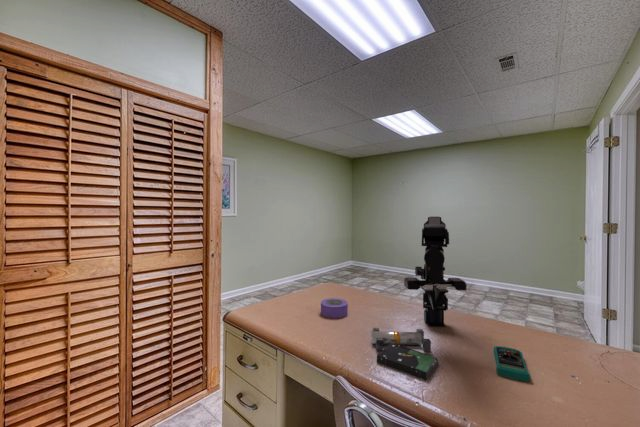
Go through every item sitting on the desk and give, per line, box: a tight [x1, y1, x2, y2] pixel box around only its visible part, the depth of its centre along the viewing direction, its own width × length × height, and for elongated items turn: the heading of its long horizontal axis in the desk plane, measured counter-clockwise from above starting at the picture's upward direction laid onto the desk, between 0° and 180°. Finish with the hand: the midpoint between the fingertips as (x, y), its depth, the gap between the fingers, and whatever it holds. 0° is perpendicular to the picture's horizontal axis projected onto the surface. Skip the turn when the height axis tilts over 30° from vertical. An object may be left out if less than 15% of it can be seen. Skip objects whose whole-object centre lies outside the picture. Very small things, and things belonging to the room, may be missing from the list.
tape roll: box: [320, 297, 349, 319], centre depth 123 cm, size 12×12×5 cm
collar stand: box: [372, 327, 432, 353], centre depth 94 cm, size 17×10×4 cm, turn 86°
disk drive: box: [376, 343, 439, 381], centre depth 82 cm, size 10×3×15 cm
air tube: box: [370, 330, 423, 346], centre depth 94 cm, size 16×4×4 cm, turn 87°
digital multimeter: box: [493, 345, 531, 383], centre depth 81 cm, size 7×15×3 cm, turn 151°
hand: (434, 309), depth 93 cm, fingers closed
